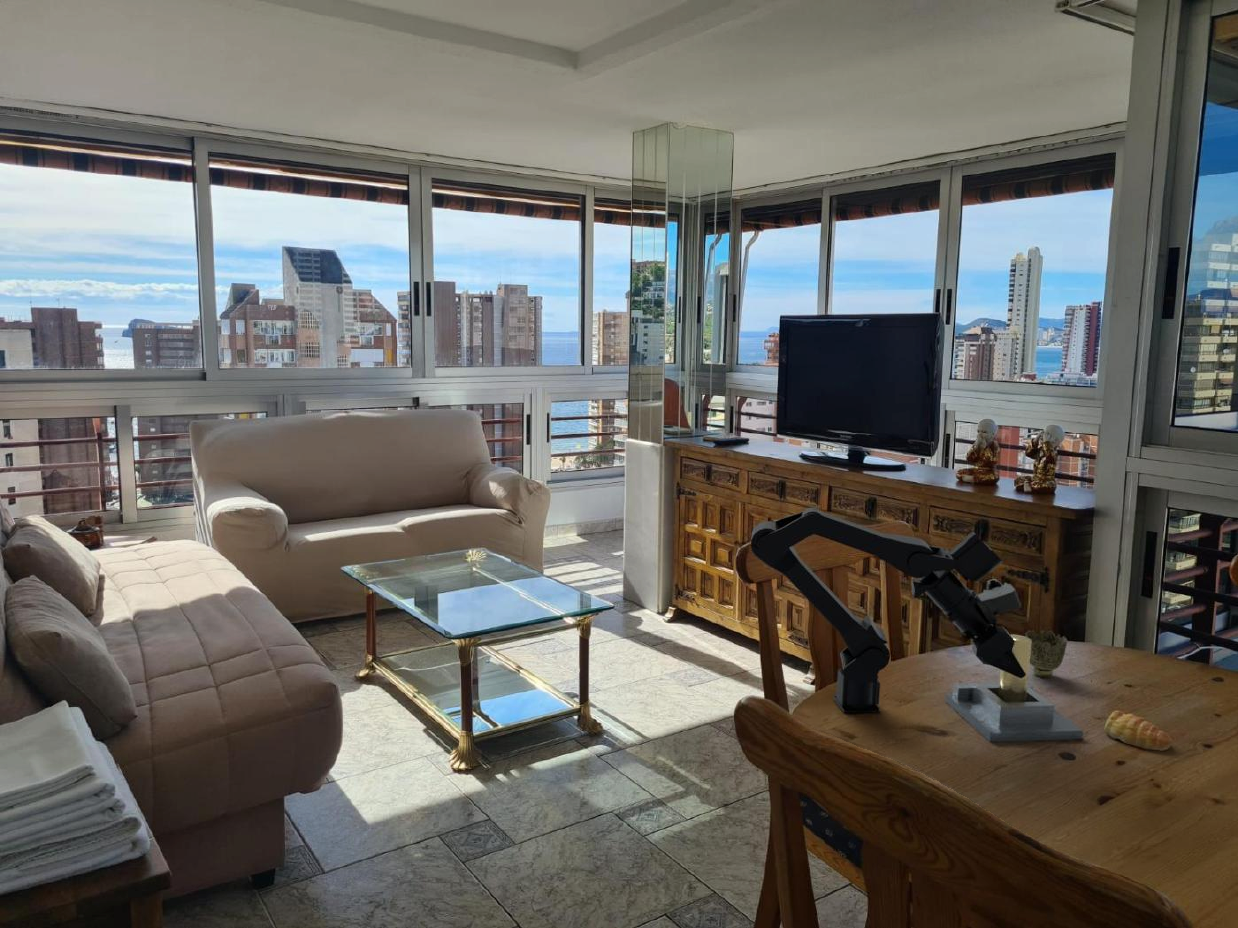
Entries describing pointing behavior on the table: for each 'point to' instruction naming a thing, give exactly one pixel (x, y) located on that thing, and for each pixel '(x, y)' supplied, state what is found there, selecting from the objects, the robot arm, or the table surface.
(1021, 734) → the jig
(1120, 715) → the pastry
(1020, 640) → the sleeve
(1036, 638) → the cup
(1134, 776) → the table surface
